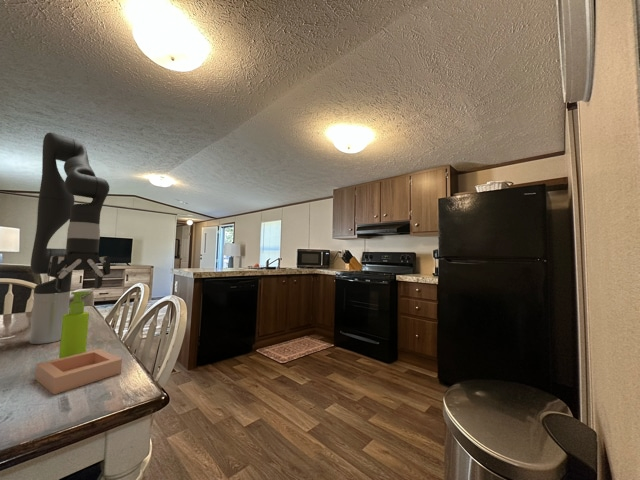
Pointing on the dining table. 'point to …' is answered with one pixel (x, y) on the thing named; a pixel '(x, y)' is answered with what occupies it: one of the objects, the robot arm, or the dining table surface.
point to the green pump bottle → (74, 328)
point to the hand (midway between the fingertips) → (79, 289)
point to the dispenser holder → (77, 370)
